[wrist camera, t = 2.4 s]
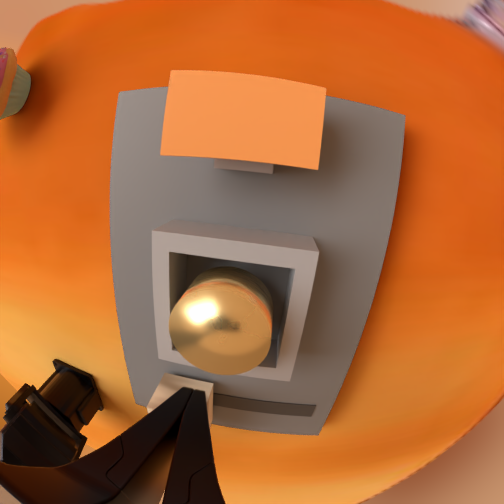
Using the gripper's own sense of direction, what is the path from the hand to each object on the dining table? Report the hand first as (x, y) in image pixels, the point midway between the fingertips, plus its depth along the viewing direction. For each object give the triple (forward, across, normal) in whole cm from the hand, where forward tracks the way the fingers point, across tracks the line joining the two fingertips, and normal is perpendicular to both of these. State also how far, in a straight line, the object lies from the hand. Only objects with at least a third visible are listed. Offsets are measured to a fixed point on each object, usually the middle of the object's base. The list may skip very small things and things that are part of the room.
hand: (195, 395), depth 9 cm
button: (+7, 0, 0) cm, 7 cm away
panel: (+11, 0, +1) cm, 11 cm away
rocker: (+6, 0, -10) cm, 12 cm away
